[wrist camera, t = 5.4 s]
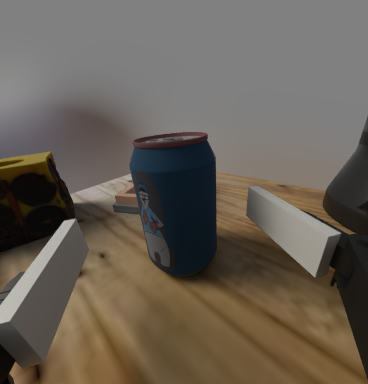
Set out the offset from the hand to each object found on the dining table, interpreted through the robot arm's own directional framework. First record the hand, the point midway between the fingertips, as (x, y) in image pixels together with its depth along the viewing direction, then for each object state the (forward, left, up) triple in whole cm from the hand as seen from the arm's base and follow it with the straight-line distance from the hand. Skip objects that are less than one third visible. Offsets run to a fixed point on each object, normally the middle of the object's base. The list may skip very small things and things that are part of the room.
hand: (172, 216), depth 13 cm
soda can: (0, -3, -7) cm, 7 cm away
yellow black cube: (+24, -4, -7) cm, 26 cm away
